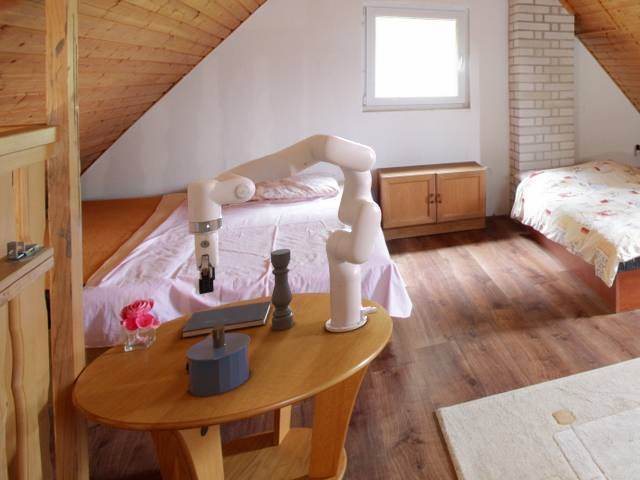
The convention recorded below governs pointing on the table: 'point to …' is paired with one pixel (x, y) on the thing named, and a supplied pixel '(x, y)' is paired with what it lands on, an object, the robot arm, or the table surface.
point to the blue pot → (218, 374)
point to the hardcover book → (227, 319)
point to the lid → (218, 345)
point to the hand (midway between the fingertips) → (207, 286)
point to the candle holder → (281, 290)
